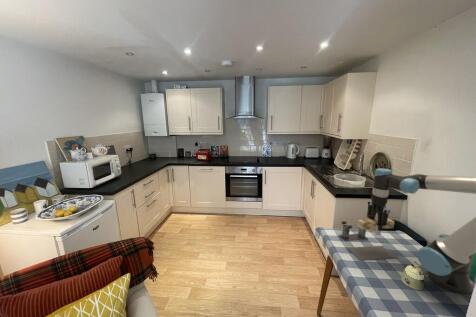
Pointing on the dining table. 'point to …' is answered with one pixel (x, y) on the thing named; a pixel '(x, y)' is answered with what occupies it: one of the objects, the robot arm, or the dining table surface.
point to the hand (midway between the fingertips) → (374, 232)
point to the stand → (351, 237)
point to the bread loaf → (373, 224)
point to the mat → (372, 253)
